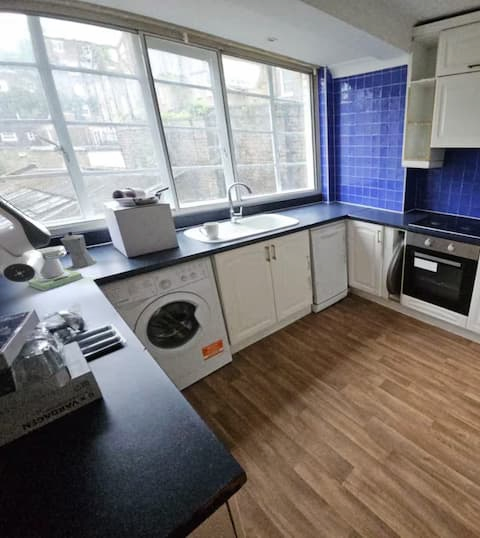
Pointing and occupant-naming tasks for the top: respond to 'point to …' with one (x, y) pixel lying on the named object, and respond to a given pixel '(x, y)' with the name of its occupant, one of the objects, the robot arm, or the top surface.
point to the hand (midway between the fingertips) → (33, 251)
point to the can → (52, 269)
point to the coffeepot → (77, 250)
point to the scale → (54, 280)
